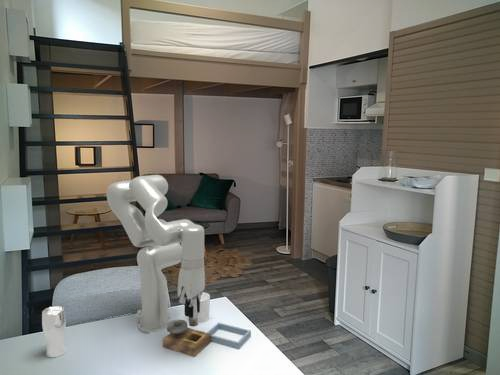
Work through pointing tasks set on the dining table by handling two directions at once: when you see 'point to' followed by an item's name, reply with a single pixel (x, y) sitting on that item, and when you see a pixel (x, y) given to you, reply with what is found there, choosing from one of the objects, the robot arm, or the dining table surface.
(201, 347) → the block
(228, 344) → the tray
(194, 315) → the lock pin
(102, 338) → the dining table surface
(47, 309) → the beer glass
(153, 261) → the robot arm
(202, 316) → the white cup
